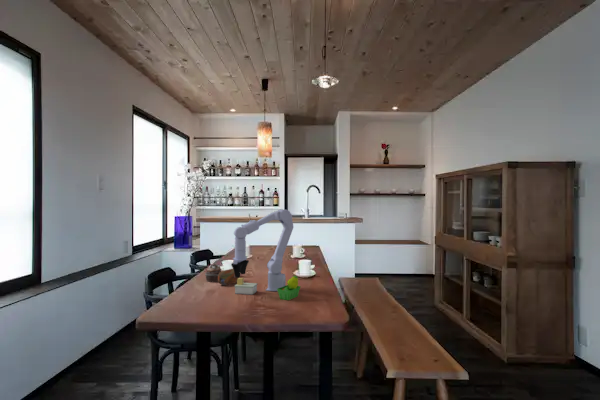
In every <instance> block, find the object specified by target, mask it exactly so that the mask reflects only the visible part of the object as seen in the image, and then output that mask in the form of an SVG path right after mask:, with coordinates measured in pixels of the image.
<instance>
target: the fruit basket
mask: <svg viewBox="0 0 600 400" xmlns="http://www.w3.org/2000/svg"><path fill="white" fill-rule="evenodd" d="M286 281H287V282H286V283H287V284H286V286H284V287H281V288H278V289H277V291H276V292H277V294H278V296H279V299H280V300H282V301H283V300H284V301H290V300H292V299H295V298H298V296H299V292H300V289H301V286H300V285H299V277H298V276H297V275H293V276H292V277H291V278H289V279H288V280H286Z"/></svg>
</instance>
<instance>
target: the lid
mask: <svg viewBox="0 0 600 400" xmlns="http://www.w3.org/2000/svg"><path fill="white" fill-rule="evenodd" d="M244 280H245V279H244V277H239V278H238V279H237V282H236V283H235V284H234V288H235V287H240V288H254V287H255V286H257V287H258V282H245V281H244Z"/></svg>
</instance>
